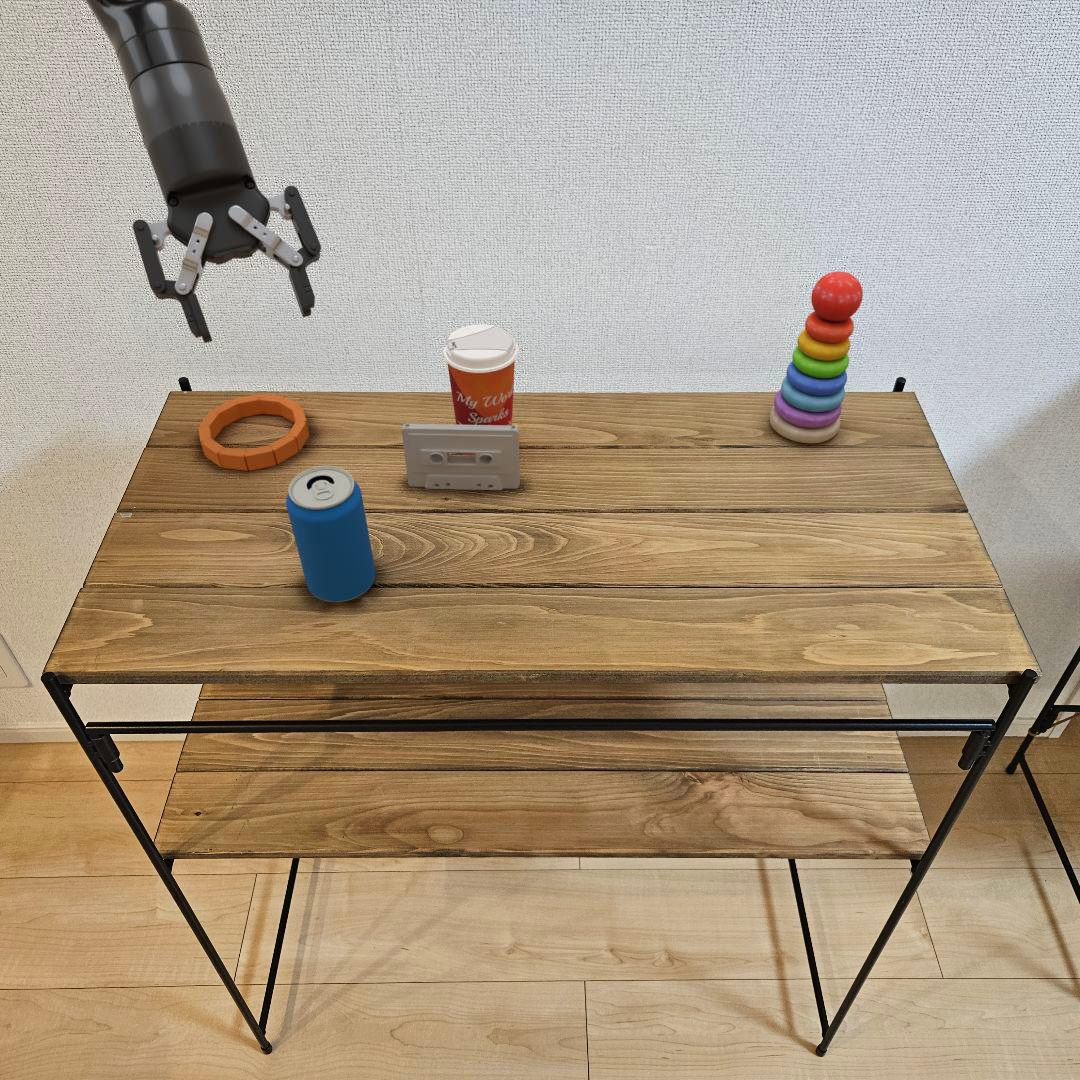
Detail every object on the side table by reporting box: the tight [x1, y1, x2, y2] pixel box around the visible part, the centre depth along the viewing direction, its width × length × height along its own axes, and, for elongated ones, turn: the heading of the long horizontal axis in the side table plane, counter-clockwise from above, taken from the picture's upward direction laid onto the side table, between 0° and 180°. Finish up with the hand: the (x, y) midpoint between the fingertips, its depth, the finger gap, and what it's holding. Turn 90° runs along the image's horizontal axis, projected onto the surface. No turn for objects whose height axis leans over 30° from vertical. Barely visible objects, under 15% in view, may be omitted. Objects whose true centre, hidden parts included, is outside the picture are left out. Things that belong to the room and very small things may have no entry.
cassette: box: [401, 423, 521, 491], centre depth 93 cm, size 12×2×8 cm, turn 88°
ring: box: [197, 393, 310, 472], centre depth 100 cm, size 12×12×2 cm
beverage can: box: [285, 465, 376, 603], centre depth 81 cm, size 6×6×12 cm
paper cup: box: [442, 323, 520, 455], centre depth 95 cm, size 8×8×14 cm
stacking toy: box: [769, 270, 864, 444], centre depth 97 cm, size 8×8×19 cm
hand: (258, 327), depth 76 cm, fingers open, 8 cm apart
